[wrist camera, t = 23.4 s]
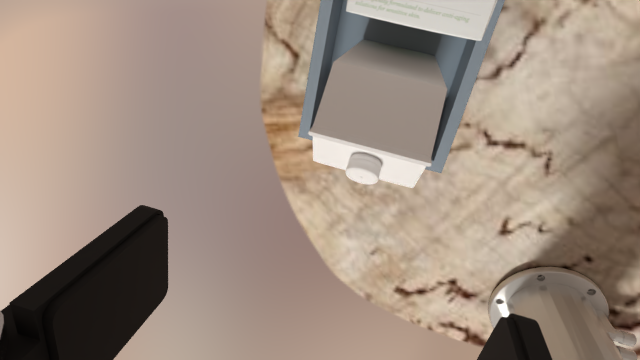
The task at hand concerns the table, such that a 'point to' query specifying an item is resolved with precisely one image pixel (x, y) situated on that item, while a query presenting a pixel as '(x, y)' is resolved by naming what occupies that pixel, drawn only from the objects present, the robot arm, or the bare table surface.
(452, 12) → the skincare box
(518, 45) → the table surface
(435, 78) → the milk carton
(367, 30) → the tote
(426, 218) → the table surface
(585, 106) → the table surface
